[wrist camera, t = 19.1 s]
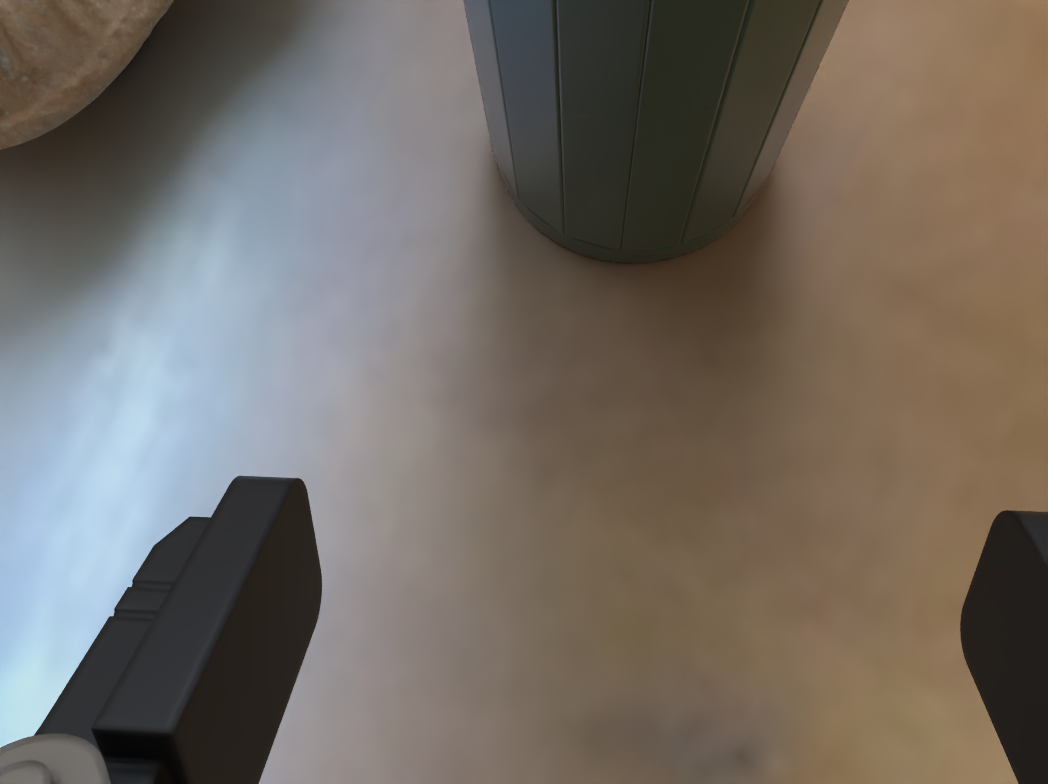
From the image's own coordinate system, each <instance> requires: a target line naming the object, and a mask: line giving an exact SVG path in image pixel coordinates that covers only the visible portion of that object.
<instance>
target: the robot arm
mask: <svg viewBox="0 0 1048 784" xmlns="http://www.w3.org/2000/svg"><path fill="white" fill-rule="evenodd" d="M132 581H133V584H132V587H128V588H127V590H126V591H125V593H124V594H123V596H122V598H121V599H120V601H119V602H118V604H117V605H116V607H115V609H114V610H115V612H114V616H113V617H111V616H110V617H109V618H108V620H107V621H106V623H105V625H104V626H103V628H102V629H101V631H100V633H99V634H98V636H97V637H96V639H95V640H94V642H93V644H92V645H91V647H90V648H89V650H88V652H87V653H86V655H85V656H84V658H83V660H82V661H81V663H80V664H79V666H78V668H77V669H76V671H75V672H74V674H73V675H72V677H71V679H70V680H69V682H68V683H67V685H66V687H65V688H64V690H63V691H62V693H61V695H60V696H59V698H58V699H57V701H56V703H55V704H54V706H53V707H52V709H51V711H50V712H49V714H48V715H47V717H46V718H45V720H44V722H43V723H42V725H41V726H40V728H39V729H38V730H37V732H36V733H35V735H34V736H31V737H27V738H23V739H21V740H18V741H15V742H13V743H10V744H8V745H6V746H4V747H1V748H0V784H258V783H259V781H260V778H261V775H262V772H263V770H264V767H265V764H266V761H267V759H268V756H269V753H270V750H271V748H272V745H273V742H274V739H275V737H276V734H277V731H278V728H279V726H280V723H281V720H282V717H283V715H284V712H285V709H286V706H287V704H288V701H289V698H290V695H291V693H292V690H293V687H294V684H295V682H296V679H297V676H298V673H299V671H300V668H301V665H302V662H303V659H304V657H305V654H306V651H307V648H308V646H309V643H310V640H311V637H312V635H313V632H314V629H315V626H316V623H317V620H318V616H319V611H320V604H321V595H322V576H321V568H320V562H319V557H318V551H317V545H316V539H315V533H314V528H313V522H312V516H311V510H310V504H309V499H308V493H307V489H306V486H305V484H304V482H303V481H302V480H301V479H299V478H279V477H255V476H238V477H236V478H235V479H234V480H233V481H232V482H231V484H230V485H229V487H228V489H227V490H226V492H225V494H224V496H223V497H222V499H221V501H220V503H219V504H218V506H217V508H216V510H215V511H214V513H213V515H212V517H211V518H209V517H189V518H188V519H186V520H185V521H184V522H183V523H181V524H180V525H179V526H178V527H176V528H175V529H174V530H173V531H172V532H170V533H169V534H168V535H167V536H165V537H164V538H163V539H162V540H160V541H159V542H158V543H157V544H155V545H154V547H153V548H152V550H151V551H150V553H149V555H148V556H147V558H146V559H145V561H144V562H143V564H142V566H141V567H140V569H139V570H138V572H137V574H136V575H135V577H134V578H133V580H132ZM960 632H961V643H962V649H963V653H964V657H965V660H966V663H967V665H968V668H969V670H970V672H971V674H972V677H973V679H974V681H975V684H976V686H977V688H978V691H979V693H980V695H981V698H982V700H983V702H984V705H985V707H986V709H987V712H988V714H989V716H990V718H991V721H992V723H993V725H994V728H995V730H996V732H997V735H998V737H999V739H1000V742H1001V744H1002V746H1003V749H1004V751H1005V753H1006V756H1007V758H1008V760H1009V762H1010V765H1011V767H1012V769H1013V772H1014V774H1015V776H1016V779H1017V781H1018V783H1019V784H1048V512H1032V511H1008V510H1006V511H1002V512H1001V513H999V514H998V515H997V516H996V518H995V519H994V521H993V523H992V526H991V528H990V531H989V534H988V537H987V540H986V542H985V545H984V548H983V551H982V554H981V557H980V559H979V562H978V565H977V568H976V571H975V573H974V576H973V579H972V582H971V585H970V588H969V590H968V593H967V596H966V599H965V602H964V605H963V608H962V614H961V623H960Z"/></svg>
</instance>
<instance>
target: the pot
mask: <svg viewBox="0 0 1048 784" xmlns="http://www.w3.org/2000/svg"><path fill="white" fill-rule="evenodd" d="M463 2H464V7H465V12H466V17H467V22H468V27H469V33H470V38H471V43H472V48H473V53H474V58H475V64H476V69H477V74H478V79H479V84H480V89H481V95H482V100H483V105H484V110H485V115H486V121H487V126H488V131H489V136H490V141H491V146H492V151H493V153H494V157H495V159H496V162H497V166H498V169H499V172H500V176H501V179H502V181H503V183H504V185H505V187H506V190H507V192H508V194H509V195H510V197H511V199H512V200H513V202H514V203H515V205H516V206H517V208H518V209H519V210H520V211H521V213H522V214H523V215H524V216H525V217H526V218H527V220H528V221H529V222H530V223H531V224H533V225H534V226H535V227H536V228H537V229H538V230H539V231H541V232H542V233H543V234H544V235H546V236H547V237H549V238H550V239H552V240H553V241H555V242H556V243H558V244H560V245H562V246H564V247H566V248H568V249H570V250H572V251H574V252H577V253H579V254H582V255H585V256H588V257H591V258H595V259H600V260H604V261H609V262H618V263H649V262H656V261H662V260H668V259H671V258H675V257H678V256H682V255H685V254H687V253H689V252H692V251H694V250H696V249H699V248H701V247H703V246H705V245H706V244H708V243H710V242H711V241H713V240H715V239H717V238H718V237H719V236H721V235H722V234H723V233H724V232H726V231H727V230H728V229H730V228H731V227H732V226H733V225H734V224H735V223H736V222H737V221H738V220H739V219H740V218H741V217H742V216H743V215H744V214H745V213H746V211H747V210H748V208H749V207H750V206H751V204H752V203H753V202H754V200H755V199H756V197H757V195H758V193H759V191H760V190H761V188H762V186H763V184H764V182H765V181H766V180H767V179H768V177H769V175H770V173H771V171H772V169H773V167H774V165H775V163H776V160H777V158H778V156H779V154H780V152H781V149H782V147H783V145H784V143H785V140H786V138H787V136H788V134H789V132H790V129H791V127H792V125H793V123H794V121H795V118H796V116H797V114H798V112H799V110H800V107H801V105H802V103H803V101H804V99H805V96H806V94H807V92H808V90H809V88H810V85H811V83H812V81H813V79H814V77H815V74H816V72H817V70H818V68H819V66H820V63H821V61H822V59H823V57H824V55H825V52H826V50H827V48H828V46H829V44H830V41H831V39H832V37H833V35H834V33H835V30H836V28H837V26H838V24H839V22H840V19H841V17H842V15H843V13H844V10H845V8H846V6H847V4H848V2H849V0H463Z"/></svg>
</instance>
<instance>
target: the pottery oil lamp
mask: <svg viewBox="0 0 1048 784" xmlns="http://www.w3.org/2000/svg"><path fill="white" fill-rule="evenodd" d="M173 1H174V0H0V150H1V149H5V148H9V147H12V146H15V145H19V144H22V143H25V142H27V141H30V140H33V139H35V138H37V137H39V136H41V135H43V134H45V133H47V132H49V131H51V130H53V129H55V128H56V127H58V126H60V125H61V124H62V123H64V122H65V121H67V120H68V119H69V118H71V117H72V116H74V115H76V114H77V113H79V112H80V111H81V110H82V109H84V108H85V107H86V106H87V105H89V104H90V103H91V102H92V101H93V100H94V99H96V98H97V97H98V96H99V95H100V94H101V93H102V92H103V91H104V90H105V89H106V88H107V87H108V86H109V85H110V84H111V83H112V82H113V81H114V80H115V79H116V78H117V76H118V75H119V74H120V73H121V72H122V71H123V70H124V69H125V67H126V66H127V65H128V64H129V63H130V61H131V60H132V59H133V58H134V56H135V55H136V53H137V52H138V51H139V50H140V48H141V46H142V44H143V43H144V42H145V40H146V39H147V38H148V37H149V36H150V35H151V31H152V30H153V28H154V26H155V25H156V24H157V22H158V21H159V20H160V19H161V17H162V16H163V15H164V14H165V13H166V12H167V10H168V9H169V7H170V5H171V4H172V2H173Z"/></svg>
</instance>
